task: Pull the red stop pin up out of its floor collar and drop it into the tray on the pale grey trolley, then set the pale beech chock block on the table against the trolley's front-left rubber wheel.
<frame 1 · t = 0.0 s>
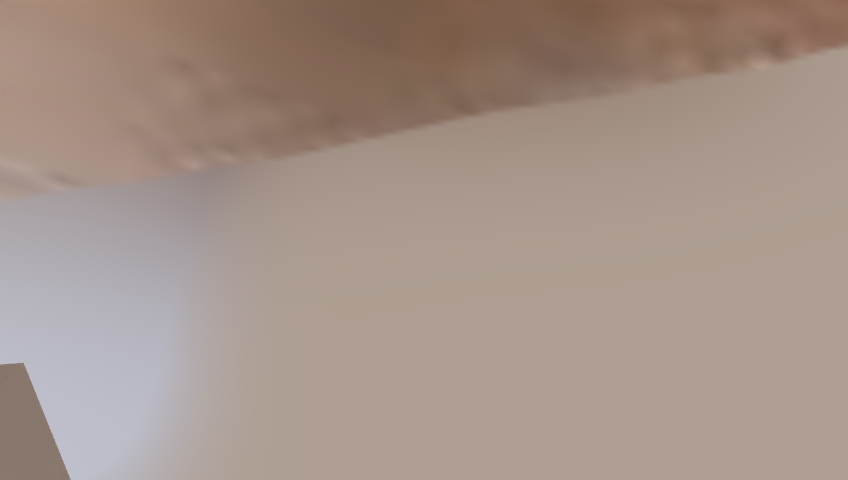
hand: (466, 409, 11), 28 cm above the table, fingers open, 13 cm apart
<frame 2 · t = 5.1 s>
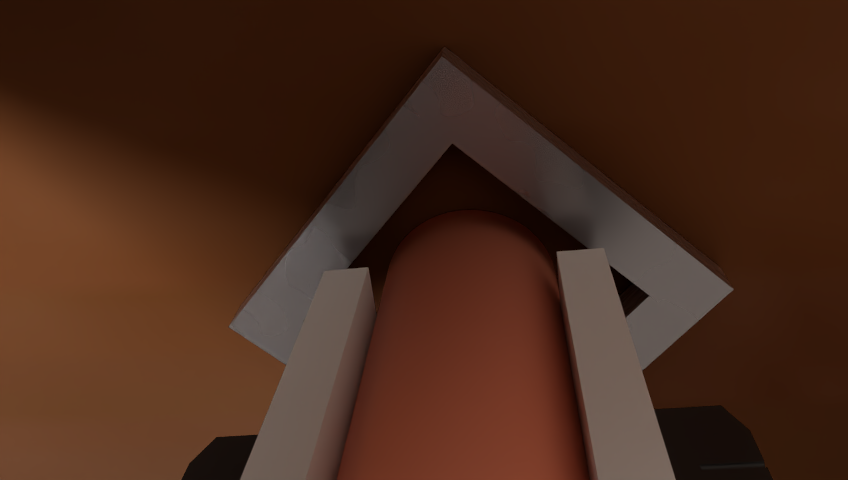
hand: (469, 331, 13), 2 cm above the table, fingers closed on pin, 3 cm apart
pin: (471, 288, 15), resting in collar, touching gripper
collar: (472, 287, 15), on the table
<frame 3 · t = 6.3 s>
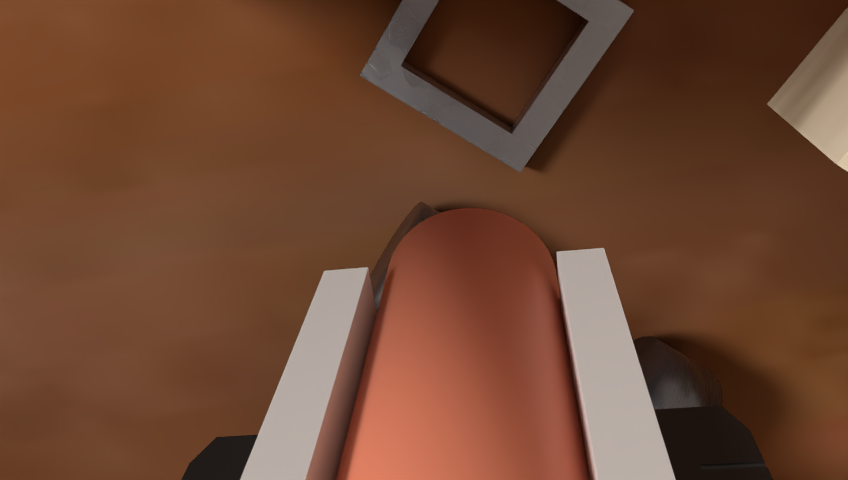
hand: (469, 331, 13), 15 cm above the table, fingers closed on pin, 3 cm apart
pin: (471, 286, 15), point 14 cm above the table, touching gripper
collar: (492, 39, 26), on the table
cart: (463, 400, 33), on the table
when the fingers open (11 cm above the table, at t = 7.9 s): pin stays where it is, resting on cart.
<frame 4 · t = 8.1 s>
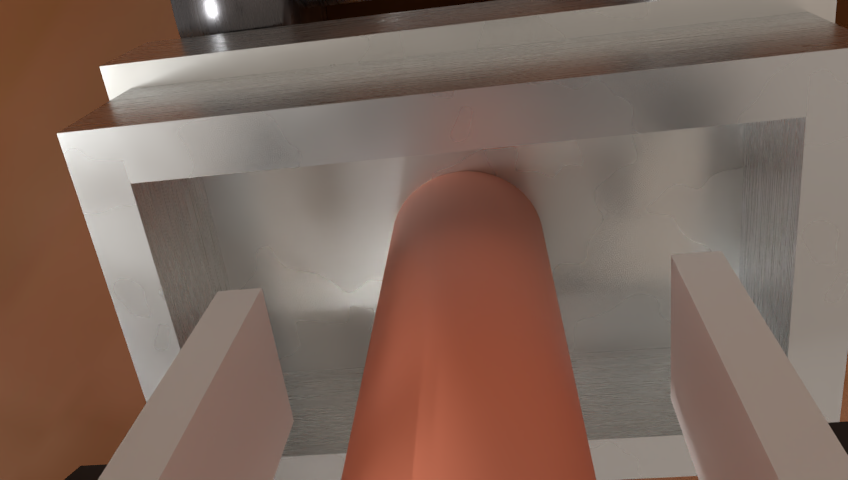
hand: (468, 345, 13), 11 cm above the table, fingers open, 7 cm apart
pin: (467, 242, 17), point 7 cm above the table, touching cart
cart: (476, 134, 23), on the table
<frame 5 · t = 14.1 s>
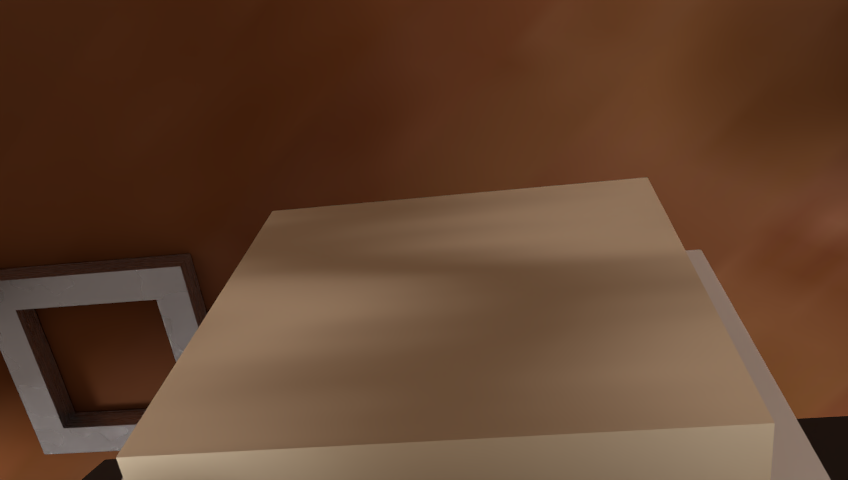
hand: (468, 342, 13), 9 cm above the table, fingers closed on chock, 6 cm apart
chock: (470, 329, 14), point 8 cm above the table, touching gripper
collar: (118, 352, 25), on the table
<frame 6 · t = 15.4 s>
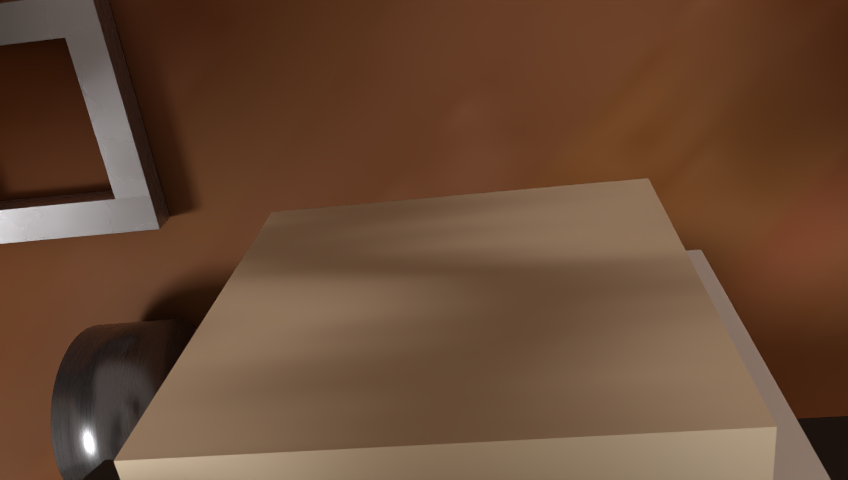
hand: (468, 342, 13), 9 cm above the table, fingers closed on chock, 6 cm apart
chock: (470, 330, 14), point 9 cm above the table, touching gripper
collar: (29, 121, 22), on the table
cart: (354, 476, 26), on the table
when the fingers open (0 cm above the table, at t = 17.1 s): chock stays where it is, on the table.
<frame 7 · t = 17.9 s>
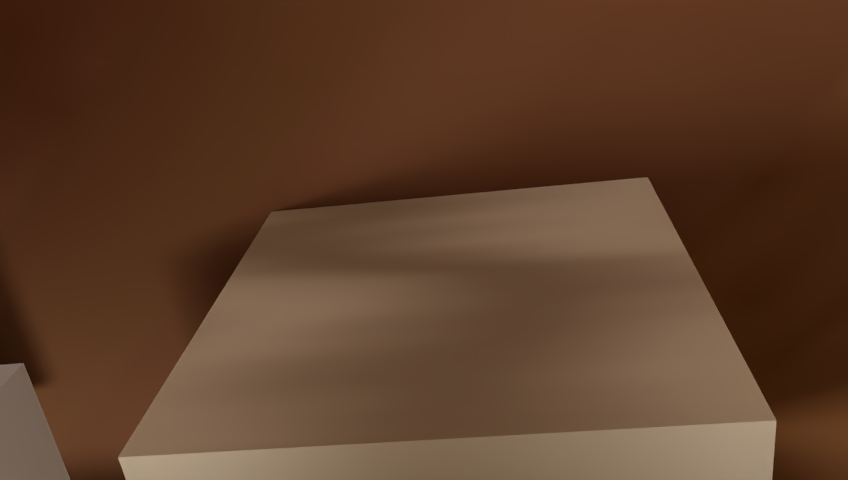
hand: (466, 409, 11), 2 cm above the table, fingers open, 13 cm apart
chock: (470, 327, 14), on the table
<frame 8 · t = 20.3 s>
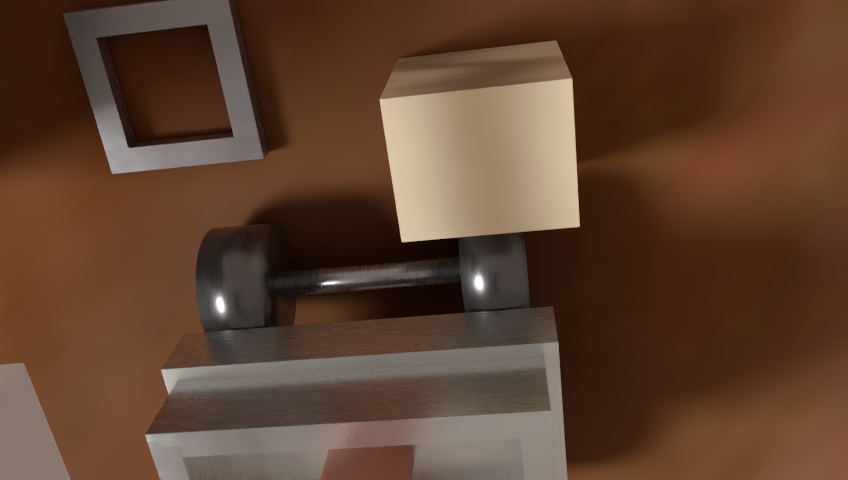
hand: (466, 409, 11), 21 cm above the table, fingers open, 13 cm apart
pin: (370, 459, 29), point 7 cm above the table, touching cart
chock: (482, 113, 31), on the table
collar: (173, 83, 31), on the table
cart: (394, 348, 36), on the table
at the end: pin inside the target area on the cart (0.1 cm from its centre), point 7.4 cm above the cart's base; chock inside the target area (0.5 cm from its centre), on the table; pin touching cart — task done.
